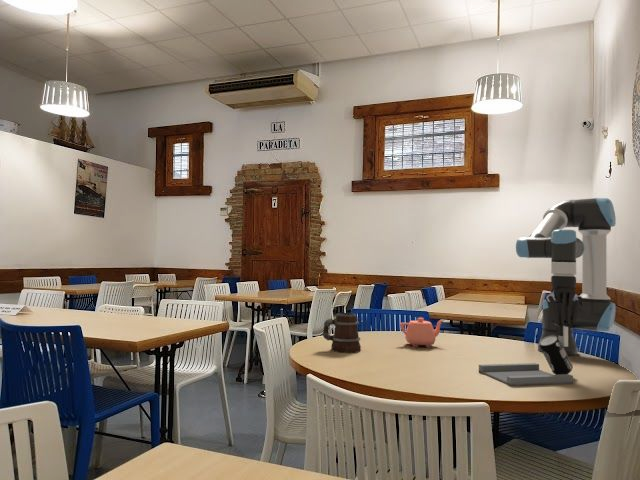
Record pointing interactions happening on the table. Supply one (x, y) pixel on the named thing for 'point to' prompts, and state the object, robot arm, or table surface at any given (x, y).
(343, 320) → the mug
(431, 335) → the teapot
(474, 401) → the table surface
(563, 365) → the beverage can
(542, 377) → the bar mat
